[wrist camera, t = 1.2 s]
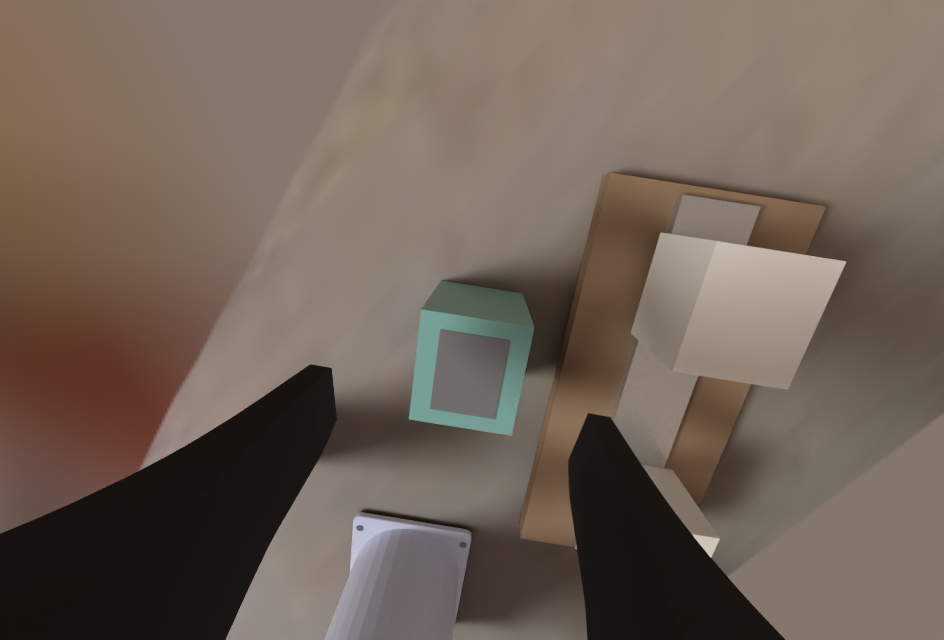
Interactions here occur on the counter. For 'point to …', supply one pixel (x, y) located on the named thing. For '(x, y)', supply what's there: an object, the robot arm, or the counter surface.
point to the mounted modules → (728, 325)
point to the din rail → (646, 377)
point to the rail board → (609, 338)
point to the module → (471, 358)
